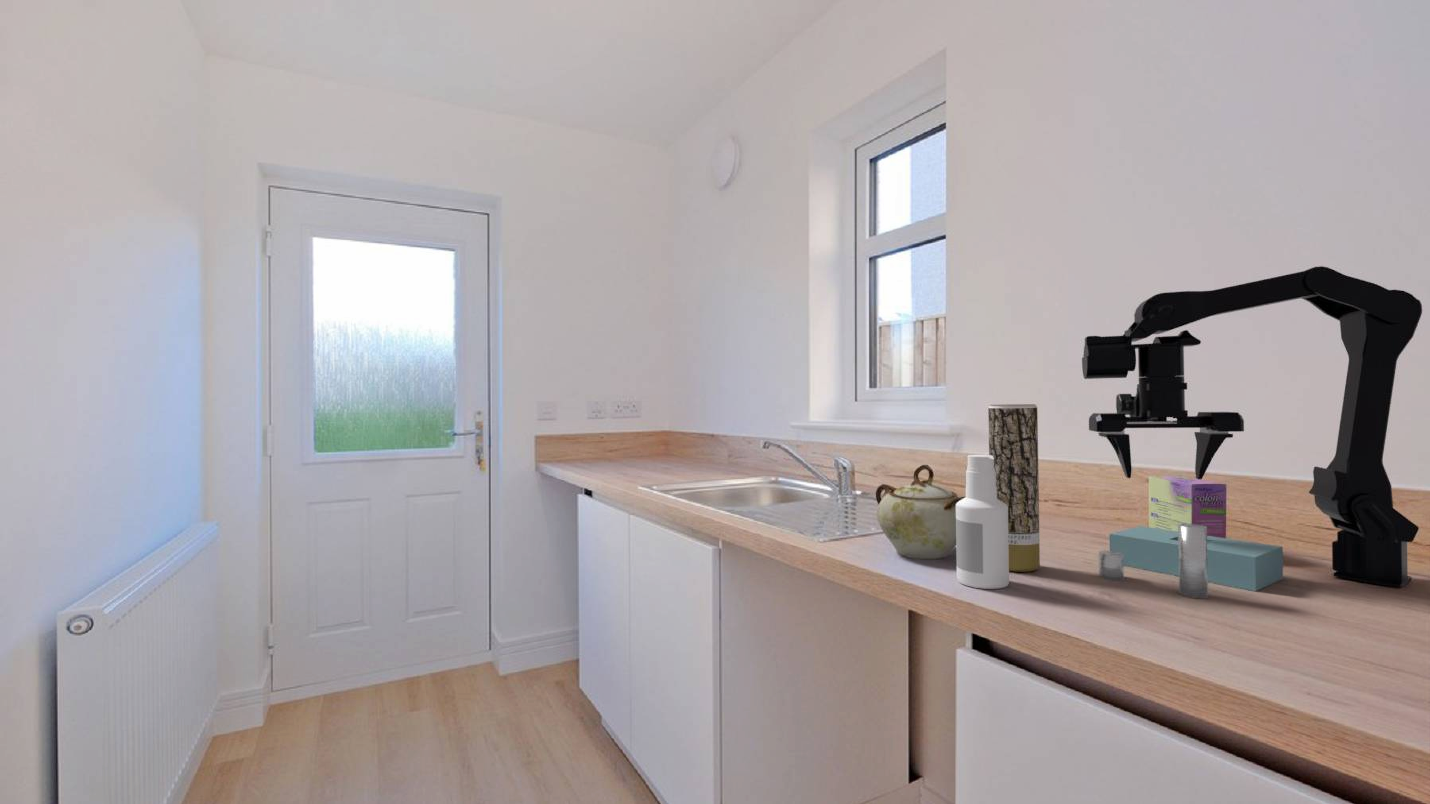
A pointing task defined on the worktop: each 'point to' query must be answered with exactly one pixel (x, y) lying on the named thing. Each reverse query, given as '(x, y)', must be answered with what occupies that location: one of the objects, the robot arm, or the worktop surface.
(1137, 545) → the hole beam
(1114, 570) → the short steel pin
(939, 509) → the sugar bowl
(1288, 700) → the worktop surface
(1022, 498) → the paper tube
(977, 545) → the spray bottle
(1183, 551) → the tall steel pin
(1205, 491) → the box
